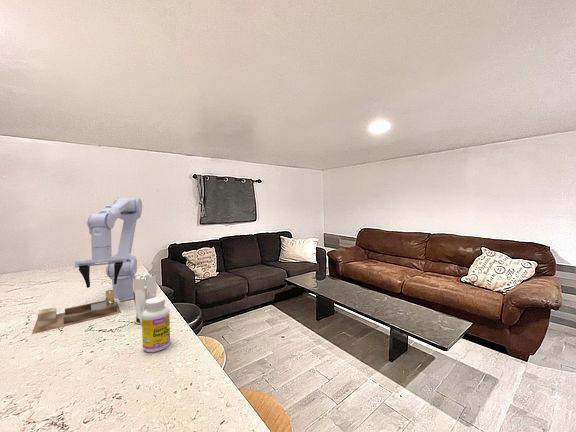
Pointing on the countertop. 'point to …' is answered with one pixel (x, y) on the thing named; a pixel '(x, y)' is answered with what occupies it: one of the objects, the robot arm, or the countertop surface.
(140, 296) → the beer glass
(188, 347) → the countertop surface
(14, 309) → the countertop surface
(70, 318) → the press board
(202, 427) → the countertop surface
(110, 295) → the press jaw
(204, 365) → the countertop surface
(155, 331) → the supplement bottle
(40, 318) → the block
